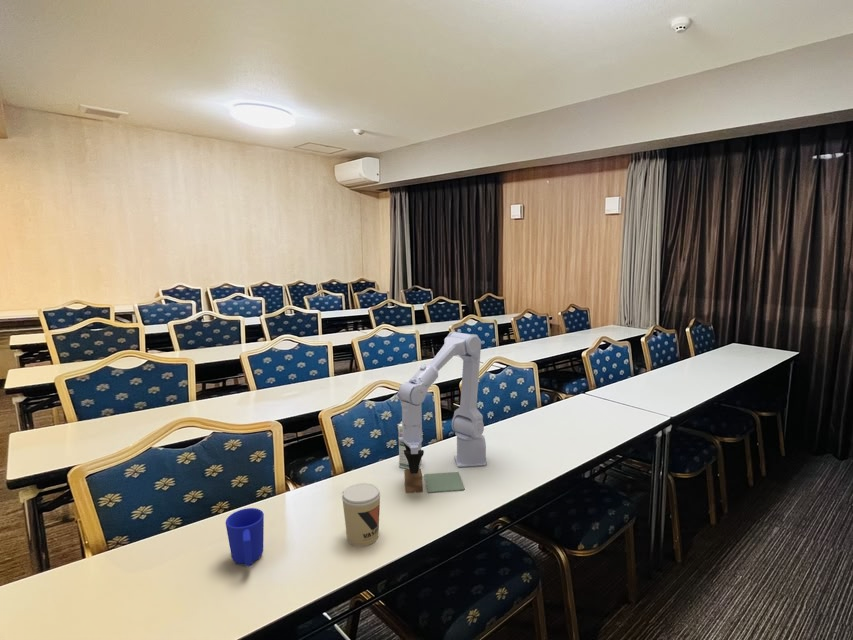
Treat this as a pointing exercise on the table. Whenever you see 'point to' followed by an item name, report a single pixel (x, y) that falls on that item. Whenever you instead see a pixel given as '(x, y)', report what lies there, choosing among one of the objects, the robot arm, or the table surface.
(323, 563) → the table surface
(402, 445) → the syrup box
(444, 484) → the green mat
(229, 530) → the mug
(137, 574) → the table surface
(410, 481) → the walnut block
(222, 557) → the table surface
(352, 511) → the beige lidded canister
